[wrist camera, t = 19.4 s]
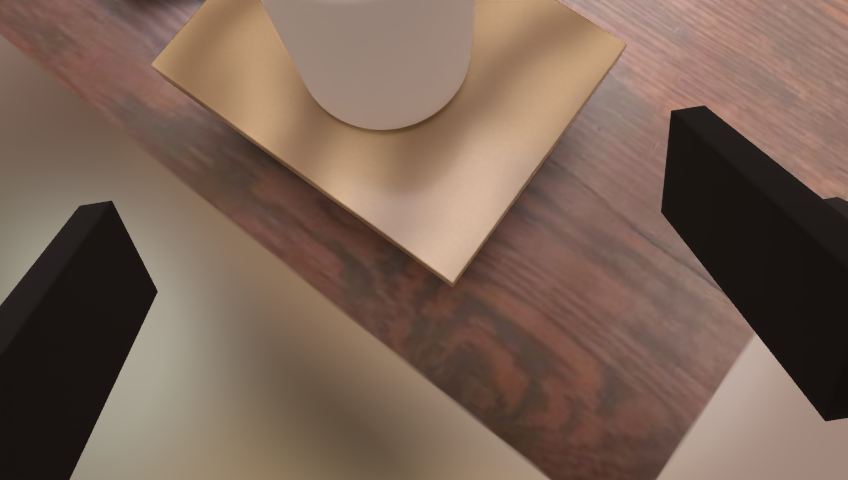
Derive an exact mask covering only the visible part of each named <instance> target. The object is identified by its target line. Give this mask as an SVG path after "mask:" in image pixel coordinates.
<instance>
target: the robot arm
mask: <svg viewBox="0 0 848 480" xmlns="http://www.w3.org/2000/svg"><path fill="white" fill-rule="evenodd" d="M661 212H662V214H663V215H664V216H665V218H666V219H667V220H668V221H669V223H670V224H671V225H672V226H673V228H674V229H675V230H676V232H677V233H678V234H679V235H680V237H681V238H682V239H683V240H684V242H685V243H686V244H687V246H688V247H689V248H690V249H691V251H692V252H693V253H694V255H695V256H696V257H697V258H698V260H699V261H700V262H701V263H702V265H703V266H704V267H705V269H706V270H707V271H708V272H709V274H710V275H711V276H712V277H713V279H714V280H715V281H716V283H717V284H718V285H719V286H720V288H721V289H722V290H723V291H724V293H725V294H726V295H727V297H728V298H729V299H730V300H731V302H732V303H733V304H734V305H735V307H736V308H737V309H738V311H739V312H740V313H741V314H742V316H743V317H744V318H745V319H746V321H747V322H748V323H749V325H750V326H751V327H752V328H753V330H754V331H755V332H756V334H757V335H758V336H759V337H760V339H761V340H762V341H763V342H764V344H765V345H766V346H767V347H768V349H769V350H770V351H771V352H772V354H773V355H774V356H775V358H776V359H777V360H778V362H779V363H780V364H781V365H782V367H783V368H784V369H785V370H786V372H787V373H788V374H789V376H790V377H791V378H792V379H793V380H794V382H795V383H796V384H797V386H798V387H799V388H800V390H801V391H802V392H803V393H804V395H805V396H806V397H807V399H808V400H809V401H810V402H811V404H812V405H813V406H814V407H815V409H816V410H817V411H818V412H819V414H820V415H821V416H822V418H823V419H824V420H825V421H831V420H837V419H844V418H848V201H845V200H843V199H841V198H838V197H835V198H829V199H822V198H821V197H819V196H818V195H817V194H816V193H814V192H813V191H812V190H811V189H809V188H808V187H807V186H805V185H804V184H803V183H802V182H800V181H799V180H798V179H797V178H795V177H794V176H793V175H792V174H790V173H789V172H788V171H787V170H785V169H784V168H783V167H781V166H780V165H779V164H778V163H776V162H775V161H774V160H773V159H771V158H770V157H769V156H768V155H766V154H765V153H764V152H763V151H761V150H760V149H759V148H757V147H756V146H755V145H754V144H752V143H751V142H750V141H749V140H747V139H746V138H745V137H744V136H742V135H741V134H740V133H739V132H737V131H736V130H735V129H733V128H732V127H731V126H730V125H728V124H727V123H726V122H725V121H723V120H722V119H721V118H720V117H718V116H717V115H716V114H715V113H713V112H712V111H711V110H709V109H708V108H707V107H706V106H698V107H692V108H686V109H680V110H673V111H671V119H670V129H669V139H668V149H667V158H666V168H665V178H664V188H663V198H662V208H661ZM156 294H157V289H156V287H155V285H154V283H153V281H152V279H151V277H150V275H149V273H148V271H147V269H146V268H145V265H144V263H143V261H142V259H141V257H140V256H139V254H138V252H137V250H136V248H135V246H134V244H133V242H132V240H131V238H130V236H129V234H128V232H127V230H126V228H125V226H124V224H123V222H122V220H121V218H120V216H119V214H118V212H117V210H116V208H115V206H114V204H113V202H112V201H107V202H101V203H95V204H89V205H82V206H79V207H78V209H77V210H76V211H75V212H74V214H73V215H72V216H71V217H70V219H69V220H68V221H67V223H66V224H65V225H64V226H63V228H62V229H61V230H60V232H59V233H58V234H57V235H56V236H55V238H54V239H53V240H52V241H51V243H50V244H49V245H48V246H47V248H46V249H45V250H44V252H43V253H42V254H41V256H40V257H39V258H38V259H37V261H36V262H35V263H34V264H33V265H32V267H31V268H30V269H29V270H28V272H27V273H26V274H25V276H24V277H23V278H22V279H21V281H20V282H19V283H18V284H17V286H16V287H15V288H14V289H13V291H12V292H11V293H10V294H9V296H8V297H7V298H6V300H5V301H4V302H3V303H2V304H1V306H0V480H70V477H71V475H72V473H73V471H74V469H75V467H76V464H77V462H78V460H79V458H80V456H81V454H82V452H83V450H84V448H85V445H86V443H87V441H88V439H89V437H90V435H91V433H92V430H93V428H94V426H95V424H96V422H97V420H98V418H99V416H100V413H101V411H102V409H103V407H104V405H105V403H106V401H107V399H108V396H109V394H110V392H111V390H112V388H113V386H114V384H115V382H116V379H117V377H118V375H119V373H120V371H121V369H122V366H123V364H124V362H125V360H126V358H127V356H128V354H129V352H130V350H131V347H132V345H133V343H134V341H135V339H136V336H137V335H138V332H139V330H140V328H141V326H142V324H143V322H144V320H145V317H146V315H147V313H148V311H149V309H150V307H151V305H152V303H153V301H154V298H155V296H156Z"/></svg>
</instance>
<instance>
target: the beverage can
mask: <svg viewBox="0 0 848 480" xmlns="http://www.w3.org/2000/svg"><path fill="white" fill-rule="evenodd" d="M261 2H262V4H263V6H264V8H265V10H266V12H267V13H268V15H269V17H270V19H271V21H272V23H273V25H274V27H275V29H276V31H277V32H278V34H279V36H280V38H281V40H282V42H283V44H284V46H285V48H286V50H287V51H288V53H289V55H290V57H291V59H292V61H293V63H294V65H295V67H296V68H297V70H298V72H299V74H300V76H301V78H302V80H303V82H304V84H305V85H306V87H307V89H308V91H309V92H310V94H311V95H312V97H313V98H314V99H315V100H316V101H317V103H318V104H319V105H320V106H321V107H322V108H323V109H325V110H326V111H327V112H328V113H330V114H331V115H333V116H334V117H336V118H338V119H339V120H341V121H343V122H346V123H348V124H351V125H354V126H357V127H361V128H366V129H373V130H390V129H398V128H403V127H407V126H410V125H413V124H416V123H418V122H421V121H423V120H425V119H427V118H429V117H430V116H432V115H433V114H435V113H436V112H438V111H439V110H440V109H442V108H443V107H444V106H445V105H446V104H447V103H448V102H449V101H450V100H451V99H452V98H453V96H454V95H455V94H456V93H457V91H458V90H459V88H460V87H461V85H462V83H463V81H464V79H465V77H466V74H467V71H468V68H469V65H470V60H471V53H472V41H473V28H474V16H475V3H476V0H261Z"/></svg>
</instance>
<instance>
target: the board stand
mask: <svg viewBox="0 0 848 480" xmlns="http://www.w3.org/2000/svg"><path fill="white" fill-rule="evenodd" d="M626 45H627V44H626V43H625V42H623V41H621V40H620V39H618V38H617V37H615V36H613V35H612V34H610V33H609V32H607V31H605V30H604V29H602V28H600V27H599V26H597V25H596V24H594V23H592V22H591V21H589V20H588V19H586V18H584V17H583V16H581V15H579V14H578V13H576V12H575V11H573V10H571V9H570V8H568V7H567V6H565V5H563V4H562V3H560V2H559V1H557V0H476V3H475V16H474V28H473V41H472V53H471V60H470V65H469V68H468V71H467V74H466V77H465V79H464V81H463V83H462V85H461V87H460V88H459V90H458V91H457V93H456V94H455V95H454V96H453V98H452V99H451V100H450V101H449V102H448V103H447V104H446V105H445V106H444V107H443V108H442V109H440V110H439V111H438V112H436V113H435V114H433V115H432V116H430V117H429V118H427V119H425V120H423V121H421V122H418V123H416V124H413V125H410V126H407V127H403V128H398V129H390V130H373V129H366V128H361V127H357V126H354V125H351V124H348V123H346V122H343V121H341V120H339V119H338V118H336V117H334V116H333V115H331V114H330V113H328V112H327V111H326V110H325V109H323V108H322V107H321V106H320V105H319V104H318V103H317V101H316V100H315V99H314V98H313V97H312V95H311V94H310V92H309V91H308V89H307V87H306V85H305V84H304V82H303V80H302V78H301V76H300V74H299V72H298V70H297V68H296V67H295V65H294V63H293V61H292V59H291V57H290V55H289V53H288V51H287V50H286V48H285V46H284V44H283V42H282V40H281V38H280V36H279V34H278V32H277V31H276V29H275V27H274V25H273V23H272V21H271V19H270V17H269V15H268V13H267V12H266V10H265V8H264V6H263V4H262V2H261V0H206V1H205V2H204V3H203V4H202V6H201V7H200V8H199V9H198V10H197V11H196V13H195V14H194V15H193V16H192V17H191V18H190V20H189V21H188V22H187V23H186V24H185V25H184V27H183V28H182V29H181V30H180V31H179V32H178V34H177V35H176V36H175V37H174V38H173V39H172V41H171V42H170V43H169V44H168V45H167V46H166V48H165V49H164V50H163V51H162V52H161V53H160V55H159V56H158V57H157V58H156V59H155V60H154V62H153V63H152V64H151V66H152V67H153V68H154V69H155V70H156V71H157V72H158V73H159V74H160V75H161V76H162V77H163V78H164V79H165V80H167V81H168V82H169V83H171V84H172V85H173V86H175V87H176V88H178V89H179V90H180V91H182V92H183V93H185V94H186V95H187V96H189V97H190V98H191V99H193V100H194V101H196V102H197V103H198V104H200V105H201V106H203V107H204V108H205V109H207V110H208V111H209V112H211V113H212V114H214V115H215V116H216V117H218V118H219V119H221V120H222V121H223V122H225V123H226V124H227V125H229V126H230V127H232V128H233V129H234V130H236V131H237V132H238V133H240V134H241V135H243V136H244V137H245V138H247V139H248V140H250V141H251V142H252V143H254V144H255V145H256V146H258V147H259V148H261V149H262V150H263V151H265V152H266V153H268V154H269V155H270V156H272V157H273V158H274V159H276V160H277V161H279V162H280V163H281V164H283V165H284V166H285V167H287V168H288V169H290V170H291V171H292V172H294V173H295V174H297V175H298V176H299V177H301V178H302V179H303V180H305V181H306V182H308V183H309V184H310V185H312V186H313V187H315V188H316V189H317V190H319V191H320V192H321V193H323V194H324V195H326V196H327V197H328V198H330V199H331V200H333V201H334V202H335V203H337V204H338V205H339V206H341V207H342V208H344V209H345V210H346V211H348V212H349V213H350V214H352V215H353V216H355V217H356V218H357V219H359V220H360V221H362V222H363V223H364V224H366V225H367V226H368V227H370V228H371V229H373V230H374V231H375V232H377V233H378V234H380V235H381V236H382V237H384V238H385V239H386V240H388V241H389V242H391V243H392V244H393V245H395V246H396V247H397V248H399V249H400V250H402V251H403V252H404V253H406V254H407V255H409V256H410V257H411V258H413V259H414V260H415V261H417V262H418V263H420V264H421V265H422V266H424V267H425V268H427V269H428V270H429V271H431V272H432V273H433V274H435V275H436V276H438V277H439V278H440V279H442V280H443V281H445V282H446V283H447V284H449V285H450V286H451V287H453V286H454V285H455V284H456V282H457V281H458V280H459V278H460V277H461V275H462V274H463V273H464V271H465V270H466V269H467V267H468V266H469V264H470V263H471V262H472V260H473V259H474V258H475V256H476V255H477V253H478V252H479V251H480V249H481V248H482V247H483V245H484V244H485V242H486V241H487V240H488V238H489V237H490V236H491V234H492V233H493V231H494V230H495V229H496V227H497V226H498V224H499V223H500V222H501V220H502V219H503V218H504V216H505V215H506V213H507V212H508V211H509V209H510V208H511V207H512V205H513V204H514V202H515V201H516V200H517V198H518V197H519V196H520V194H521V193H522V191H523V190H524V189H525V187H526V186H527V185H528V183H529V182H530V180H531V179H532V178H533V176H534V175H535V174H536V172H537V171H538V169H539V168H540V167H541V165H542V164H543V163H544V161H545V160H546V158H547V157H548V156H549V154H550V153H551V152H552V150H553V149H554V147H555V146H556V145H557V143H558V142H559V141H560V139H561V138H562V136H563V135H564V134H565V132H566V131H567V130H568V128H569V127H570V125H571V124H572V123H573V121H574V120H575V119H576V117H577V116H578V114H579V113H580V112H581V110H582V109H583V108H584V106H585V105H586V103H587V102H588V101H589V99H590V98H591V97H592V95H593V94H594V92H595V91H596V90H597V88H598V87H599V86H600V84H601V83H602V81H603V80H604V79H605V77H606V76H607V75H608V73H609V72H610V70H611V69H612V68H613V66H614V65H615V64H616V62H617V61H618V59H619V58H620V56H621V54H622V52H623V51H624V49H625V47H626Z"/></svg>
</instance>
